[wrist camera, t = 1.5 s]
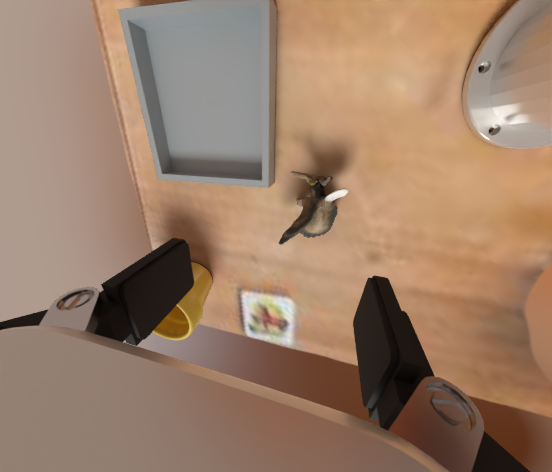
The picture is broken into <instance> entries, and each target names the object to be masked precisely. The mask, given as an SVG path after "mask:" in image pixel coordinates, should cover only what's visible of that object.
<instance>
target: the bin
mask: <svg viewBox="0 0 552 472" xmlns="http://www.w3.org/2000/svg"><path fill="white" fill-rule="evenodd" d="M118 11H119V15H120V20H121V24H122V28H123V32H124V37H125V41H126V45H127V49H128V54H129V58H130V62H131V66H132V70H133V75H134V79H135V83H136V87H137V92H138V96H139V100H140V104H141V109H142V113H143V117H144V121H145V125H146V130H147V134H148V138H149V142H150V147H151V151H152V155H153V159H154V164H155V168H156V172H157V176H158V180H171V181H185V182H198V183H212V184H225V185H238V186H252V187H265V188H269V187H270V186H271V185H272V184H274V176H275V118H276V59H277V8H276V6H275V3H274V1H273V0H190V1H182V2H174V3H166V4H158V5H150V6H141V7H133V8H125V9H118Z"/></svg>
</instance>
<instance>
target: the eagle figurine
mask: <svg viewBox="0 0 552 472" xmlns="http://www.w3.org/2000/svg"><path fill="white" fill-rule="evenodd" d="M291 174H292V175H293V176H295V177H299V178H301V179H305V180H306V181H307V182H308V183H309V184H310V185H311V187H310V188H311V190H312V193H311V196H310V197H305V198H304V199H301V200H298V199H297V200H296V201H297V204H298V205H300V206H303V210H302V213H301V215H300V216H299V217H298V218H297V219H296V220H295V221H294V223H293V224H292V226H291V227H290V228H289V229H287V230H286V232H285V233H284V234H283V235H282V238H281V239H280V242H279V244H280V245H282V244H284V243H285V242H287V241H288V240H289V239H291V238H292V237H294V236H295V235H297V234H298V233H301V234H303V236H304V237H306V236H307V237H308V238H310V237H313V238H314V237H316V236H317V235H318V236H320V235H321V234H322V235H324V234H325V233H326V232H328V231H329V230H330V229H331V226H332V225H333V222H334V220H335V217H336V215H337V207H336V206H334V204H332V201H333V200H335V199H337V198H339V197H343V196H345V195H346V194H347V193H348V192H349V190H348V189H345V188H343V189H340V190H336V191H334V192H332V193H330V194H329V195H327V196H325V192H324V187H323V185H324V186H325V185H326V184H327V182H329V181H330V180H332V179H333V178H332V177H328V178H326V177H324V176H322V177H318V176H313V175H309V174H305V173H299V172H293V171H292V172H291Z"/></svg>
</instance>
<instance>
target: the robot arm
mask: <svg viewBox="0 0 552 472" xmlns="http://www.w3.org/2000/svg"><path fill="white" fill-rule="evenodd" d="M479 67H480V68H481V71H480V72H479V71H478V68H479ZM462 106H463V112H464V117H465V119H466V121H467V123H468V125H469V127H470V129H471V130H472V131H473V132H474V133H475V134H476V136H477V137H479V138H480V139H482V140H483V141H485V142H487V143H489V144H492V145H495V146H498V147H503V148H512V149H531V148H538V147H545V146H549V145H552V0H518V1H517V2H515V3H514V4H513V5H512V6H511V7H510V8H509V9H508V10H507V11H506V12H505V14H504V15H503V16H502V17H501V18H500V19H499V20H498V21H497V22H496V23H495V25H494V26H493V27H492V29H491V30H490V31H489V33H488V34H487V35H486V37H485V38H484V39H483V41H482V43H481V44H480V46H479V48H478V50H477V51H476V53H475V55H474V57H473V59H472V61H471V64H470V66H469V69H468V71H467V74H466V78H465V82H464V87H463V95H462ZM489 129H491V130H490V132H489ZM488 132H489V133H488ZM101 285H102V287H103V289H104V290H103V291H102V292H99V290H98V289H97V288H94V287H86V288H79V289H76V290H73V291H71V292H68V293H66V294H64V295H62V296H61V297H59V298H58V299H57V300H55V301H54V303H53V304H52V305H51V307H50V308H49V309H48V310H45V311H41V312H37V313H33V314H30V315H26V316H22V317H18V318H14V319H11V320H7V321H3V322H0V472H530V471H528V469H526V468H525V467H524V466H523V465H522V464H521V463H520V462H518V461H517V460H516V459H515V458H514V457H513V456H512V455H510V454H509V453H508V452H507V451H506V450H505V449H504V448H503V447H502V446H500V445H499V444H498V443H497V442H496V441H495V440H494V439H492V438H491V437H490V436H489V435H488V434H487V433H486V432H485V431H484V423H483V420H482V417H481V414H480V413H479V411H478V410H477V408H476V406H475V405H474V403H473V402H472V401H471V400H470V399H469V398H468V396H467V395H466V394H465V393H463V392H462V391H461V390H460V389H459V388H458V387H456V386H455V385H453V384H452V383H450V382H449V381H446V380H444V379H442V378H439V377H435V376H434V374H433V372H432V369H431V367H430V365H429V362H428V360H427V358H426V356H425V353H424V351H423V349H422V346H421V344H420V342H419V340H418V337H417V335H416V333H415V330H414V328H413V326H412V324H411V321H410V319H409V317H408V315H407V313H406V312H404V311H401V308H400V306H399V304H398V301H397V299H396V296H395V294H394V291H393V289H392V286H391V284H390V282H389V279H388V278H385V277H379V276H373V277H372V278H368V280H367V282H366V285H365V288H364V291H363V294H362V297H361V300H360V302H359V305H358V308H357V311H356V314H355V317H354V321H353V327H354V335H355V343H356V351H357V359H358V367H359V375H360V383H361V392H362V399H363V404H364V406H365V407H367V408H368V410H369V418H370V419H372V420H376V421H379V423H380V427H379V426H377V425H375V424H372V423H370V422H367V421H365V420H362V419H359V418H356V417H354V416H352V415H349V414H346V413H343V412H340V411H337V410H334V409H332V408H329V407H326V406H323V405H319V404H317V403H314V402H311V401H308V400H305V399H302V398H299V397H296V396H292V395H289V394H286V393H283V392H280V391H277V390H274V389H271V388H267V387H264V386H261V385H258V384H255V383H252V382H249V381H245V380H242V379H239V378H236V377H233V376H230V375H226V374H223V373H220V372H217V371H214V370H211V369H207V368H204V367H201V366H198V365H194V364H191V363H188V362H185V361H182V360H179V359H175V358H172V357H169V356H166V355H163V354H159V353H156V352H152V351H149V350H146V349H143V348H140V347H136V346H137V345H138V344H139V343H140V342H141V341H142V340H143V339H145V338H147V337H148V336H149V335H150V334H151V333H152V331H153V330H154V329H155V328H156V327H157V326H158V325H159V324H160V323H161V322H162V320H163V319H164V318H165V317H166V316H167V315H168V314H169V313H170V312H171V311H172V309H173V308H174V307H175V306H176V305H177V304H178V303H179V302H180V301H181V300H182V299H183V297H184V296H185V295H186V294H187V293H188V292H189V291H190V290H191V289H192V287H193V285H194V277H193V270H192V264H191V258H190V252H189V246H188V244H187V243H186V241H185V240H182V239H177V238H173V239H171V240H169V241H168V242H166V243H165V244H163V245H162V246H160V247H159V248H157V249H155V250H154V251H152V252H151V253H149V254H148V255H146V256H145V257H143V258H141V259H140V260H138V261H137V262H135V263H134V264H132V265H131V266H129V267H128V268H126V269H124V270H123V271H121V272H120V273H118V274H117V275H115V276H114V277H112V278H110V279H109V280H107V281H106V282H104V283H103V284H101ZM124 340H126V342H127V343H129V344H127V343H123V341H124ZM130 344H132V345H130ZM133 345H135V346H133Z"/></svg>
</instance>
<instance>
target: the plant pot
mask: <svg viewBox="0 0 552 472" xmlns="http://www.w3.org/2000/svg"><path fill="white" fill-rule="evenodd" d="M191 264H192V270H193V277H194V285H193V287H192V289H191V290H190V291H189V292H188V293H187V294H186V295H185V296H184V297H183V299H182V300H181V301H180V302H179V303H178V304H177V305H176V306H175V307H174V308H173V309H172V311H171V312H170V313H169V314H168V315H167V316H166V317H165V318H164V319H163V320H162V322H161V323H160V324H159V325H158V326H157V327H156V328H155V329H154V330H153V331H152V332H153V333H155V334H157V335H159V336H161V337H164V338H167V339H171V340H182V339H185V338H187V337H188V336H189V335H190V334H191V333H192V331H193V330H194V328H195V327H196V325H197V324H198V322H199V321H200V319H201V317H202V315H203V305H204V303H205V300H206V298H207V296H208V293H209V291H210V289H211V286H212V277H211V274H210V273H209V272H208V270H207V269H206V268H205V267H203V266H202V265H200V264H197V263H193V262H191Z"/></svg>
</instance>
